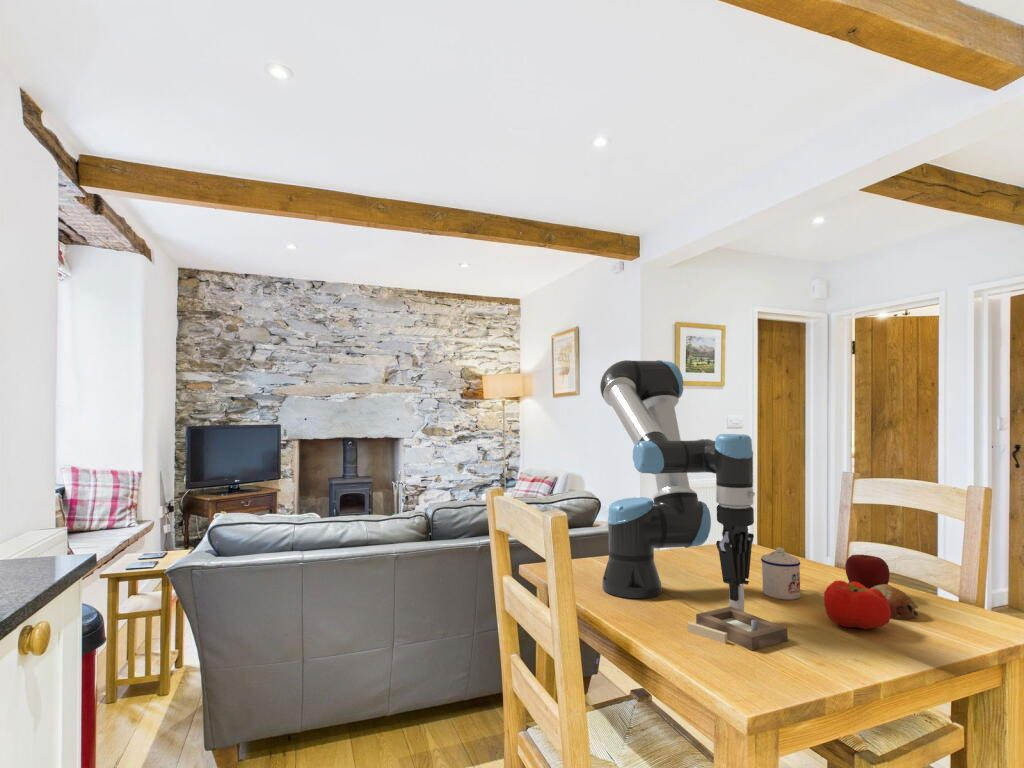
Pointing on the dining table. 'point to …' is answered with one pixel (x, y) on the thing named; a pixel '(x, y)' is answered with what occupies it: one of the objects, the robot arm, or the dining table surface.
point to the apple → (867, 570)
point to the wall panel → (714, 631)
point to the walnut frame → (743, 628)
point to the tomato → (856, 605)
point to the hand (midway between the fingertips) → (736, 614)
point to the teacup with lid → (781, 575)
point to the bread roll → (898, 602)
